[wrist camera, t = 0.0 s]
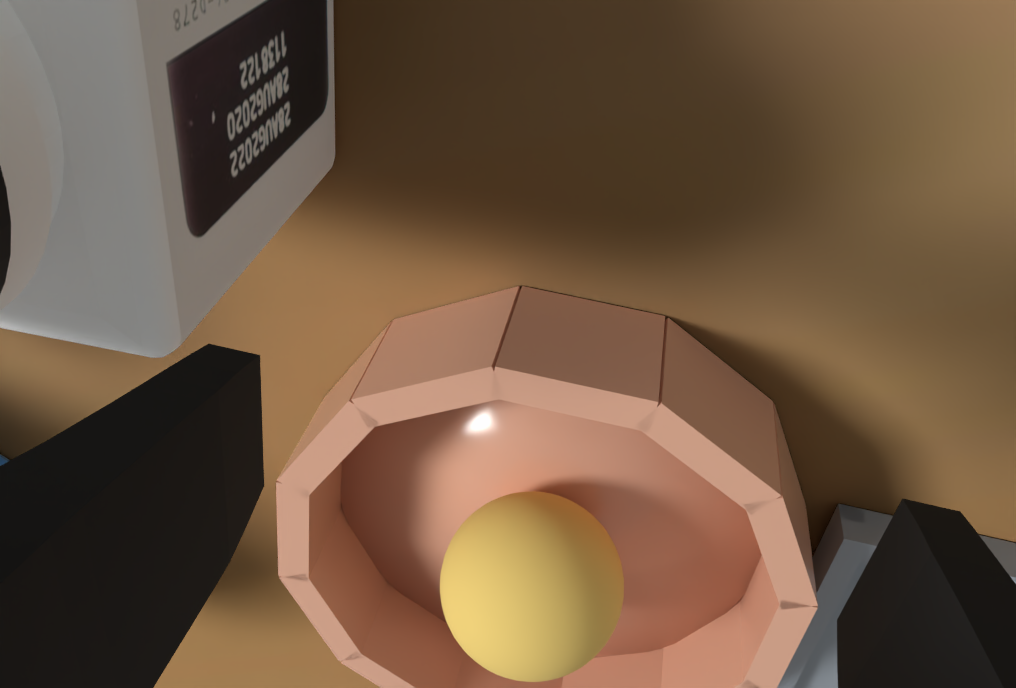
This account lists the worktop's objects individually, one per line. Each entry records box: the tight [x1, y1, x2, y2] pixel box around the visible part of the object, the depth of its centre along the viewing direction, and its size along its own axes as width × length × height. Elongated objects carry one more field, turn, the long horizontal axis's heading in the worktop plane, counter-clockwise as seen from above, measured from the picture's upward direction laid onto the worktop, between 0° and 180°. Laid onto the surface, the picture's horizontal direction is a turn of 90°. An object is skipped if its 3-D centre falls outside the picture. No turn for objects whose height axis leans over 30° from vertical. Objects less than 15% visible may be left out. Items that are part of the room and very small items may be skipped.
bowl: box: [276, 286, 818, 688], centre depth 23 cm, size 13×13×3 cm
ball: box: [440, 491, 624, 682], centre depth 22 cm, size 4×4×4 cm
